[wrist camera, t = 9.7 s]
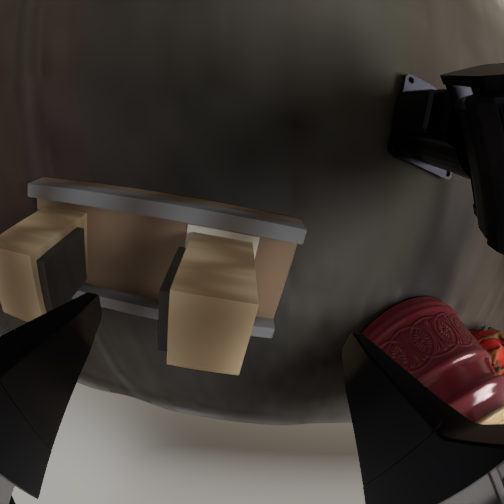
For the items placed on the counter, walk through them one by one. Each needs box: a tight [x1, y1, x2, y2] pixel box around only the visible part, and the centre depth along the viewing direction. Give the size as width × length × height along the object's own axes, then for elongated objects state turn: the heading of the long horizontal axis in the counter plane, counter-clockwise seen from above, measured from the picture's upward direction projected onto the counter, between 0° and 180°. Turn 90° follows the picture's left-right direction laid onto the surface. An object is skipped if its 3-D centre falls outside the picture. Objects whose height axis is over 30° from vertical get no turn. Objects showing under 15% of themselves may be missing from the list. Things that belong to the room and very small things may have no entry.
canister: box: [362, 296, 504, 424], centre depth 18 cm, size 13×13×18 cm
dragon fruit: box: [470, 327, 504, 375], centre depth 24 cm, size 8×8×12 cm
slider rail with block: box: [0, 177, 307, 338], centre depth 17 cm, size 20×9×8 cm, turn 78°
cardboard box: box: [158, 232, 259, 375], centre depth 17 cm, size 5×5×7 cm
